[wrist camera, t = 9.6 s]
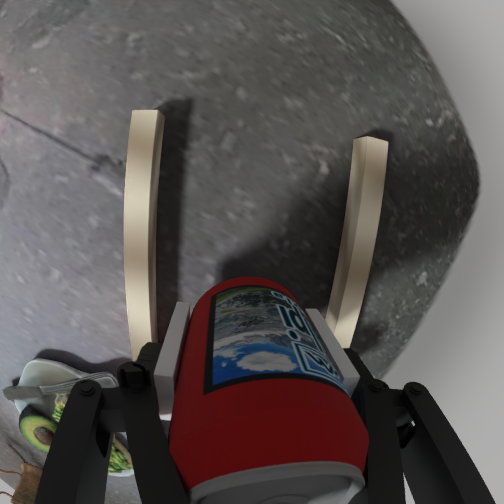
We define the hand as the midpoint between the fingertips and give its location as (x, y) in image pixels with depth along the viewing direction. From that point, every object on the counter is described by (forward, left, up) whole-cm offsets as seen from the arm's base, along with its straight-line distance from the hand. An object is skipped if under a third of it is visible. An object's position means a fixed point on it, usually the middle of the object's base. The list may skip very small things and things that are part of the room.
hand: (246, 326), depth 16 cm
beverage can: (0, 0, -1) cm, 1 cm away
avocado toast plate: (+16, -16, -3) cm, 23 cm away
